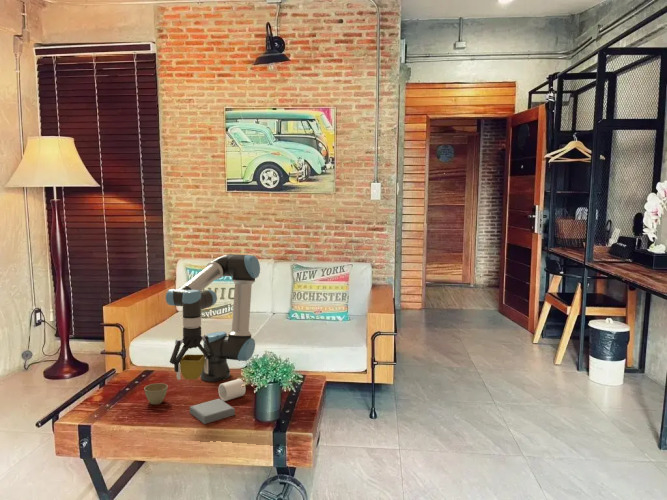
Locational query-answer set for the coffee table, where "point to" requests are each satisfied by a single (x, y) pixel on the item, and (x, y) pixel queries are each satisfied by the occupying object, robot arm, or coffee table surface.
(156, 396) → the round planter pot
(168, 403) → the coffee table surface
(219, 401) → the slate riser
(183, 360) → the flower pot
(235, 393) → the mug
